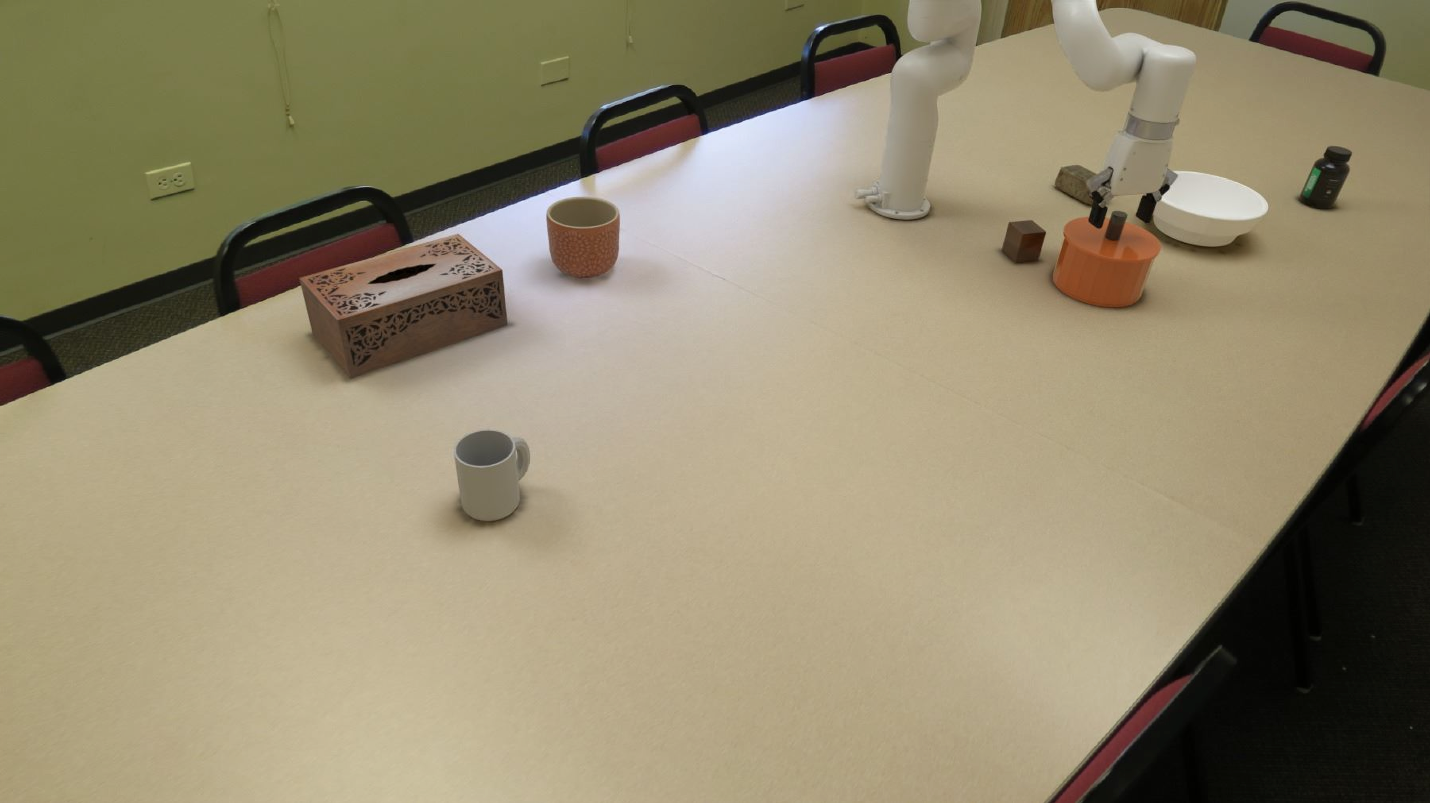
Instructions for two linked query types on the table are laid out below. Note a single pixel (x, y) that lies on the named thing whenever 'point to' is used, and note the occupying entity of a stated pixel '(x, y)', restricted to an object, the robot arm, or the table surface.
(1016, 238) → the metal block
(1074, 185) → the stone block
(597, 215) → the planter
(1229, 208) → the bowl
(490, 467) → the cup
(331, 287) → the tissue box cover
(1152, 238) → the pan lid
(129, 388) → the table surface
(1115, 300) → the pan
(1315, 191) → the supplement bottle
